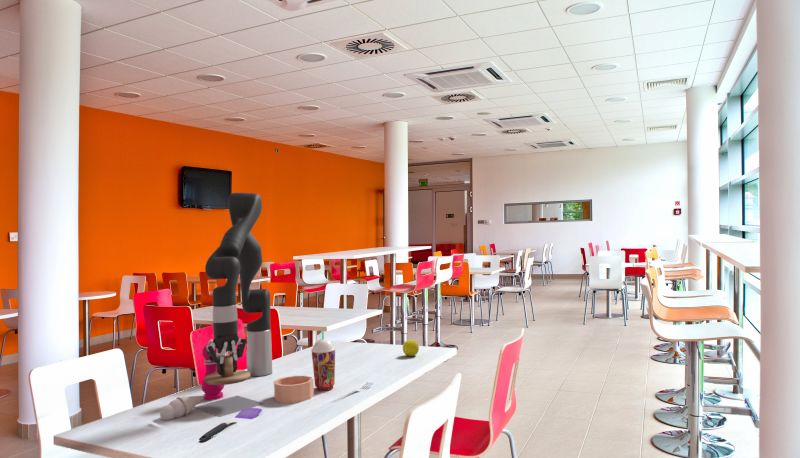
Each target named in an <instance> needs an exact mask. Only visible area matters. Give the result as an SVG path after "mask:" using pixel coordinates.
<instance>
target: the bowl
mask: <svg viewBox="0 0 800 458" xmlns="http://www.w3.org/2000/svg"><path fill="white" fill-rule="evenodd" d="M314 390H315V389H314V379H313V378H312V376H307V375H293V376H292V375H290V376H284V377H280V378H277V379H276V380H274V381H273V396H274V400H275V401H274V402H278V403H281V404H284V403H286V404H295V403H302V402H305V401H309V400H311V399H312V398H314V397H315V395H314V393H315V391H314Z"/></svg>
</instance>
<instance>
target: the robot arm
mask: <svg viewBox="0 0 800 458" xmlns="http://www.w3.org/2000/svg"><path fill="white" fill-rule="evenodd" d="M262 201H263V200H262V198H261V195H260V194H259V193H255V192H254V193H253V192H232V193H230V194H229V197H228V202H227V204H228V214H229V217H230V222H231V225H232V226H231V227H229V228H228V230H226V231H225V233H224V235H223V237H222V239H221V241H220V244H219V246H218V247H217V248H216V249H215V250H214V251H213V252H212V253H211V255H210V256H209V257H208V258H207V260H206V263H205V267H204V268H205V269H204V270H205V274H206V276H207V277H208V278H210V279H211V280H226V282H225V284H224V285H220V286H216V287H214V288H213V289H212V330H213V331H212V333H213V334H212V335H213V339H212V340H213V343H211V344H210V345H208V344H206V345H205V346H204V347H205V349H206V351H207V353H208V356H209V358H210V361H211V362H214V363H217V372H218V374H219V375H221V376H222V375H224V363H223V361H224V356H226V352H227V353H228V354H229V355H230V356H233V373H234V372H236V370H238V359H241V358H242V357H243V355H244V351H245V347H246V346H247V349H246V369H247V370H246V371H249V372H250V377H262V376H267V375H270V374H272V373H273V354H272V353H273V352H272V351H273V350H272V349H273V348H272V331H271V330H272V327H271V326H272V325H271V293H270V290H269V289H267V288H258V289H257V288H255V289H250V286H251V285H252V282H253V280H254V278H255V277H256V275H257V273H258V272H259V270H260V269H261V267H262V264H263V252H262V246H261V244H260V243H259V241H258V240H257V238H256V237H255V236H254V234H252V232H251V231H252V229H253V228H254V226H255V224H256V223H257V221H258V219H259V218H260V215H261V212H262V209H263V202H262ZM238 280H239V282H240V297H241V299H240V300H241V306H242V311H243V312H244V313H245V314H258V313H259V314H261V316H260V317H258V318H257V319H254V320H252V321H250V322H248V323H246V338H242V337H239V335H238V333H239V323H238V309H237V300H236V298H237V297H236V293H237V284H238ZM214 347H216V348H217V352H216V354H215V352H214V350H215V348H214ZM216 355H217V357H216ZM229 355H228V356H229Z"/></svg>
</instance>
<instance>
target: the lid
mask: <svg viewBox="0 0 800 458" xmlns="http://www.w3.org/2000/svg"><path fill="white" fill-rule="evenodd" d="M223 363H224V375H222V376H221V375H219V374H218V372H216V373H212V374H209V375H207V376H206V377H205V378H204V377H203V379H204V380H205V383H206V384H210V385H224V386H226V385H234V384H238V383H242V382H244V381H247V380H249V379H250V378H251V376H250V372H249V371H247V370H244V369H237V370H236V372H234V373H233V356H230V355H225V356H224V361H223Z"/></svg>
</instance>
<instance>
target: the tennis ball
mask: <svg viewBox="0 0 800 458" xmlns="http://www.w3.org/2000/svg"><path fill="white" fill-rule="evenodd" d="M419 350H420V347H419V343H418V342H417V341H416V340H414V339H407V340H405V341H404V342H403V344H402V352H403V353H404V355H405V356H407V357H414V356H416V355H417V354H418V353H419Z"/></svg>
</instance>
